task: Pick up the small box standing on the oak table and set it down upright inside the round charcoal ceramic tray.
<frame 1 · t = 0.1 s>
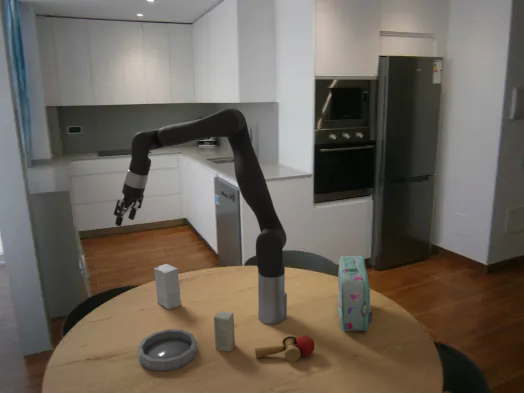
hand: (124, 222, 155), 31 cm above the table, tool tilted 20°, fingers open, 8 cm apart
box: (225, 347, 130), on the table
round tray: (168, 353, 126), on the table
skincare box: (168, 304, 158), on the table
kendama: (284, 356, 125), on the table
lunch box: (352, 318, 146), on the table
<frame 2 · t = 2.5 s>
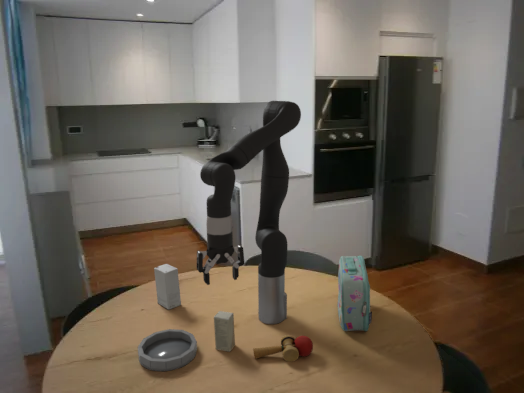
hand: (221, 281, 125), 22 cm above the table, tool pointing down, fingers open, 8 cm apart
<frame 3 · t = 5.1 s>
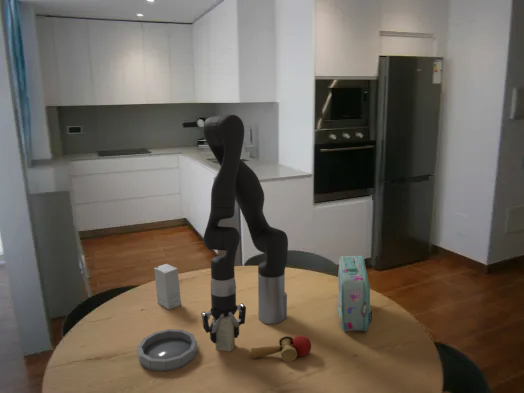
hand: (224, 339, 129), 3 cm above the table, tool pointing down, fingers closed on box, 6 cm apart
box: (225, 347, 130), on the table, touching gripper
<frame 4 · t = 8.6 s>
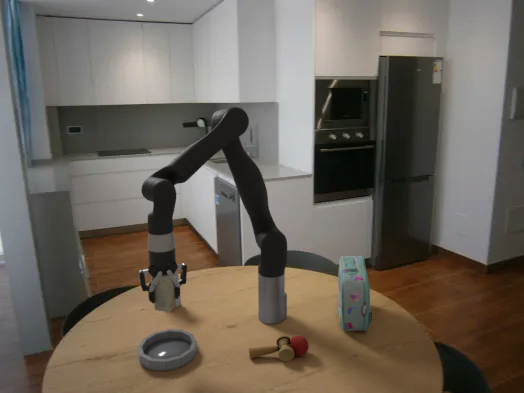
hand: (164, 299, 122), 18 cm above the table, tool pointing down, fingers closed on box, 6 cm apart
box: (165, 308, 123), point 15 cm above the table, touching gripper
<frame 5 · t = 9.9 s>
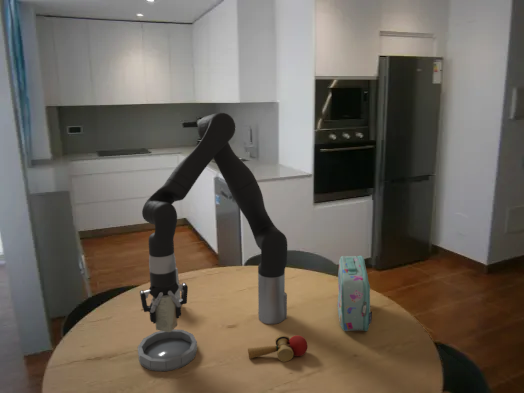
hand: (165, 319, 124), 11 cm above the table, tool pointing down, fingers closed on box, 6 cm apart
box: (166, 328, 125), point 8 cm above the table, touching gripper
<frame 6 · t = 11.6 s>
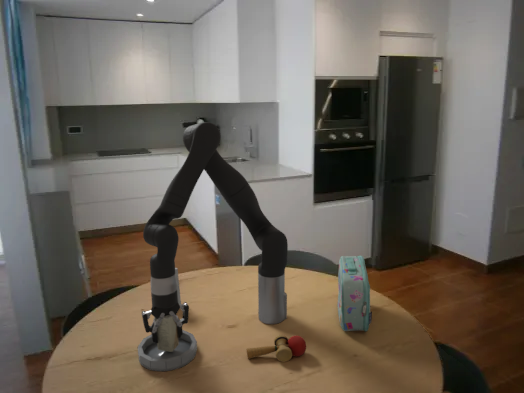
hand: (167, 339, 125), 5 cm above the table, tool pointing down, fingers closed on box, 6 cm apart
box: (168, 347, 126), point 2 cm above the table, touching gripper
when the fingers open (5 cm above the table, at t = 12.0 s): box drops 1 cm, resting on round tray.
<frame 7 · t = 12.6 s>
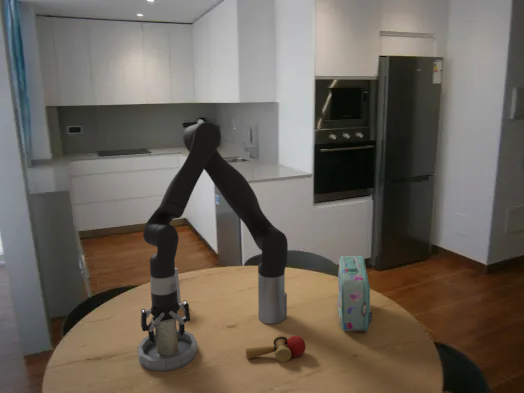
hand: (167, 337, 125), 5 cm above the table, tool pointing down, fingers open, 8 cm apart
box: (167, 351, 126), point 1 cm above the table, touching round tray
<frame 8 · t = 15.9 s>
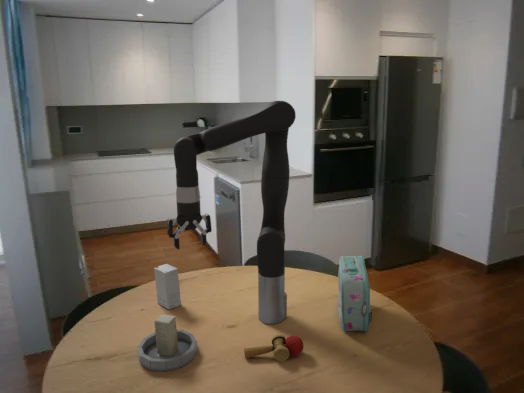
hand: (190, 246, 137), 28 cm above the table, tool pointing down, fingers open, 8 cm apart
at the end: box inside the target area on the round tray (0.1 cm from its centre), point 0.6 cm above the round tray's base; box tilted 0°; the gripper is holding nothing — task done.
